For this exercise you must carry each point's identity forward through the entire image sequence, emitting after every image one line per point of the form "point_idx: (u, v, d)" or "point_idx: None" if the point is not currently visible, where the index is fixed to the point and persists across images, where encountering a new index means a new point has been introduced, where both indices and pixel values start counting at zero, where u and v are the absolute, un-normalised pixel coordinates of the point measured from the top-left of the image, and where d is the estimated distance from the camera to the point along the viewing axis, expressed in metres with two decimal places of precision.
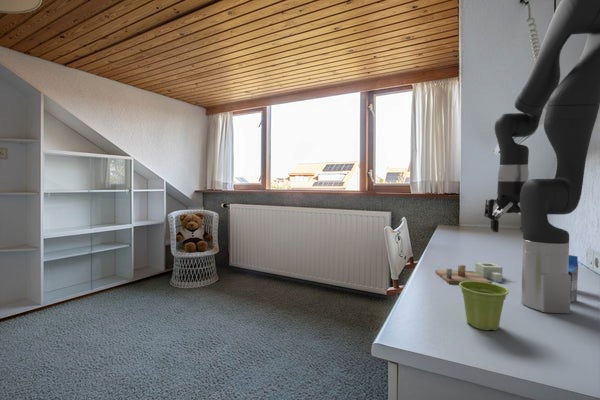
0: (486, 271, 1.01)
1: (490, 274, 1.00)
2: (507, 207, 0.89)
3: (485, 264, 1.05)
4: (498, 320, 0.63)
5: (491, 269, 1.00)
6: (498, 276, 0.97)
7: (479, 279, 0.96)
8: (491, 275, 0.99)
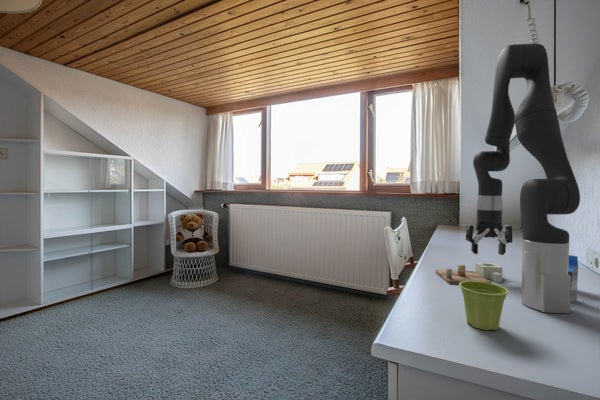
0: (486, 271, 1.01)
1: (490, 274, 1.00)
2: (485, 232, 1.02)
3: (485, 264, 1.05)
4: (498, 320, 0.63)
5: (491, 269, 1.00)
6: (498, 276, 0.97)
7: (479, 279, 0.96)
8: (491, 275, 0.99)
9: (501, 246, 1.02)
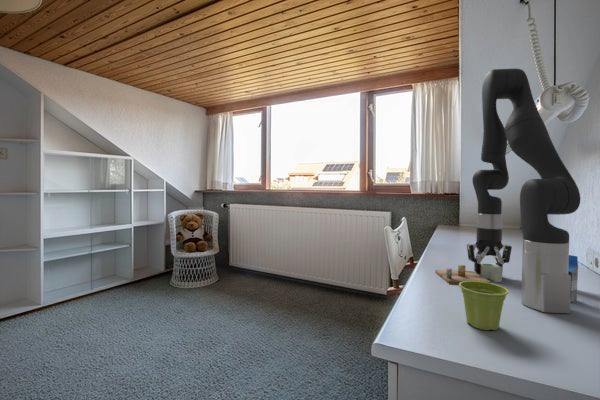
0: (486, 271, 1.01)
1: (490, 274, 1.00)
2: (485, 251, 1.02)
3: (485, 264, 1.05)
4: (498, 320, 0.63)
5: (491, 269, 1.00)
6: (498, 276, 0.97)
7: (479, 279, 0.96)
8: (491, 275, 0.99)
9: None
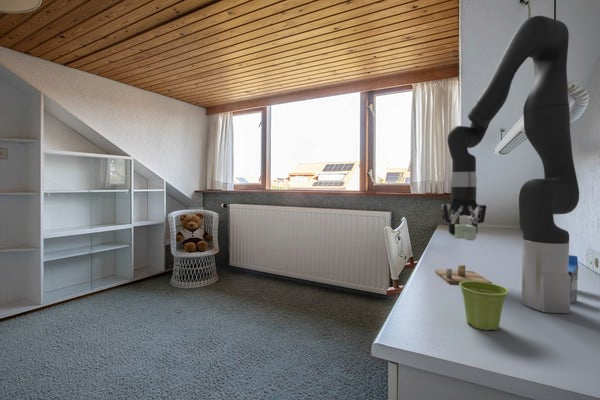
0: (460, 231, 0.97)
1: (463, 234, 0.97)
2: (459, 210, 0.98)
3: (460, 225, 1.02)
4: (498, 320, 0.63)
5: (465, 229, 0.97)
6: (471, 234, 0.94)
7: (479, 279, 0.96)
8: (465, 234, 0.96)
9: None
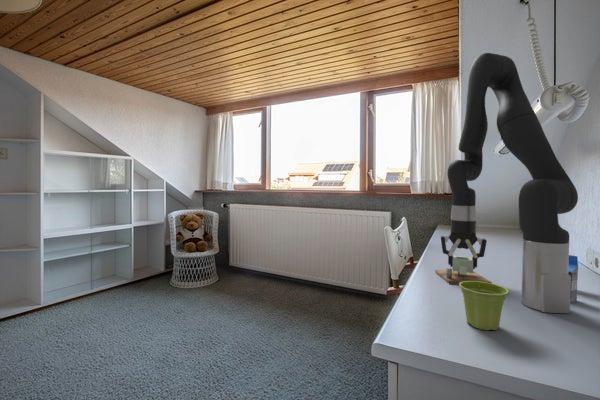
0: (455, 264, 0.99)
1: (459, 267, 0.98)
2: (457, 243, 1.00)
3: (461, 257, 1.02)
4: (498, 320, 0.63)
5: (461, 262, 0.98)
6: (463, 269, 0.95)
7: (479, 279, 0.96)
8: (459, 267, 0.97)
9: None
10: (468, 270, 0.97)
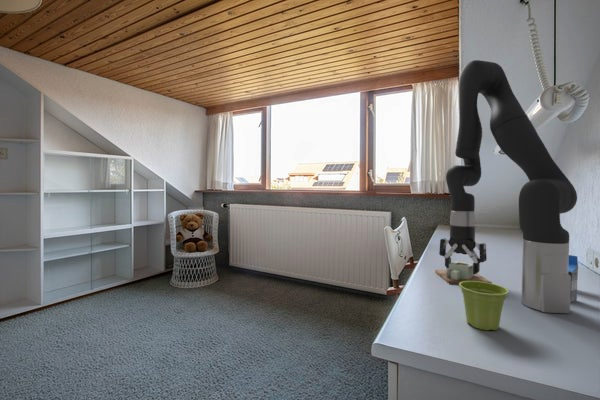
0: (451, 268, 1.00)
1: None
2: (453, 247, 1.01)
3: (463, 264, 1.02)
4: (498, 320, 0.63)
5: (456, 267, 0.99)
6: (454, 274, 0.96)
7: (479, 279, 0.96)
8: None
9: None
10: (463, 276, 0.97)
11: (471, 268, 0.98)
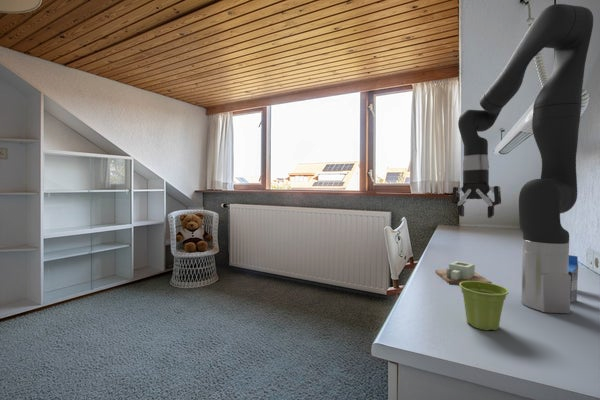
0: (451, 268, 1.00)
1: None
2: (467, 193, 1.00)
3: (463, 264, 1.02)
4: (498, 320, 0.63)
5: (456, 267, 0.99)
6: (454, 274, 0.96)
7: (479, 279, 0.96)
8: None
9: (488, 208, 0.96)
10: (463, 276, 0.97)
11: (471, 268, 0.98)
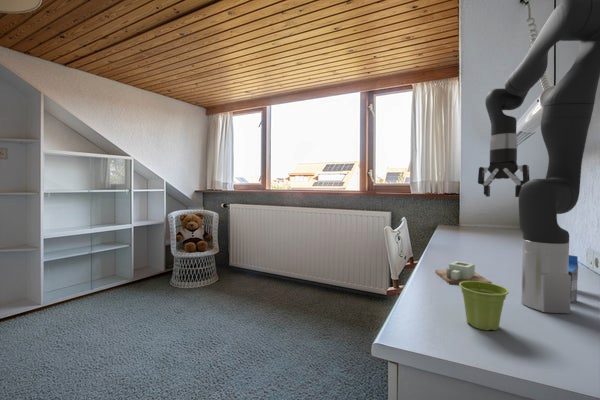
0: (451, 268, 1.00)
1: None
2: (494, 173, 0.99)
3: (463, 264, 1.02)
4: (498, 320, 0.63)
5: (456, 267, 0.99)
6: (454, 274, 0.96)
7: (479, 279, 0.96)
8: None
9: None
10: (463, 276, 0.97)
11: (471, 268, 0.98)
